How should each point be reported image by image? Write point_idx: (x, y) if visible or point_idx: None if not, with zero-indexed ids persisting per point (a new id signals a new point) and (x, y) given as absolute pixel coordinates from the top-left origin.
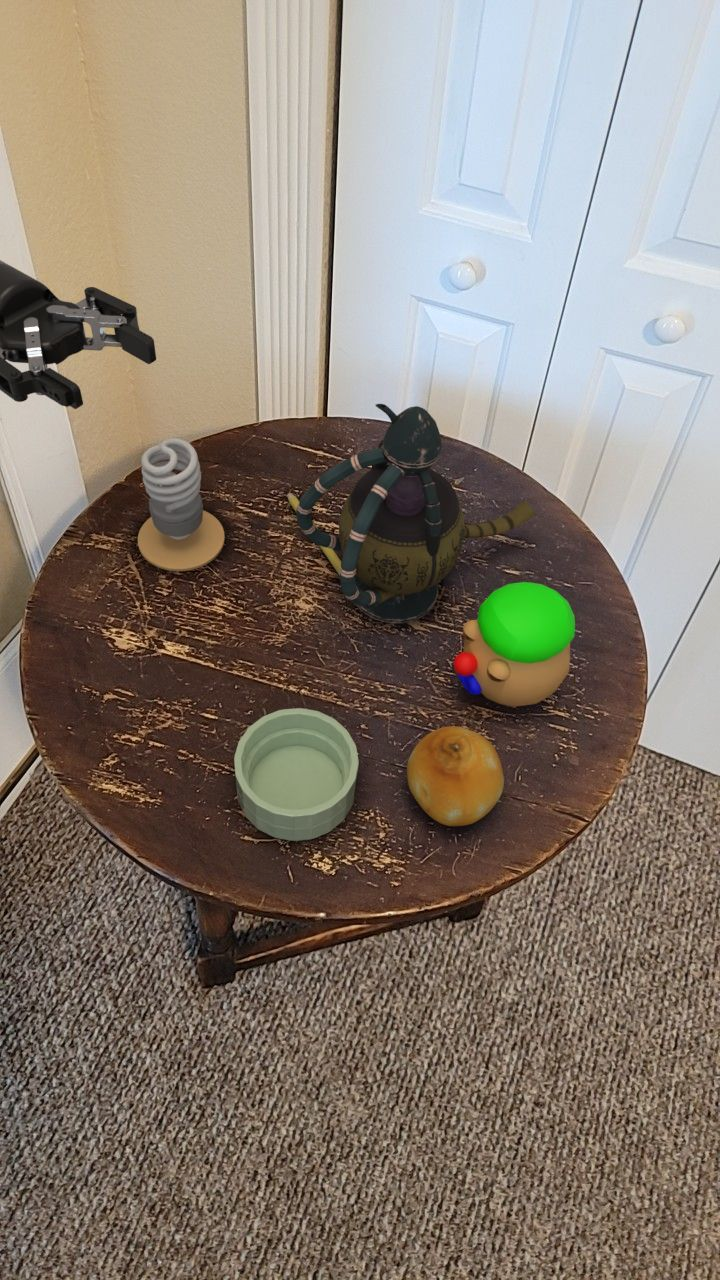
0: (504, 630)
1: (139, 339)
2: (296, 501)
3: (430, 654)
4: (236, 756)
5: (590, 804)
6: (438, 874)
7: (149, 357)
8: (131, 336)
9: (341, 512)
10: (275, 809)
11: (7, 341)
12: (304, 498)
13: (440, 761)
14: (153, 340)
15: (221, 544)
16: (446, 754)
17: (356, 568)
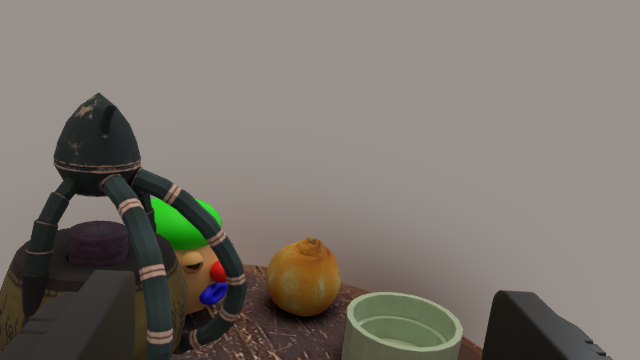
0: (211, 212)
1: (121, 285)
2: None
3: (178, 355)
4: (450, 344)
5: (242, 264)
6: (357, 295)
7: (132, 326)
8: (102, 323)
9: None
10: (447, 311)
11: None
12: (168, 308)
13: (323, 252)
14: (67, 293)
15: None
16: (320, 244)
17: (180, 332)
